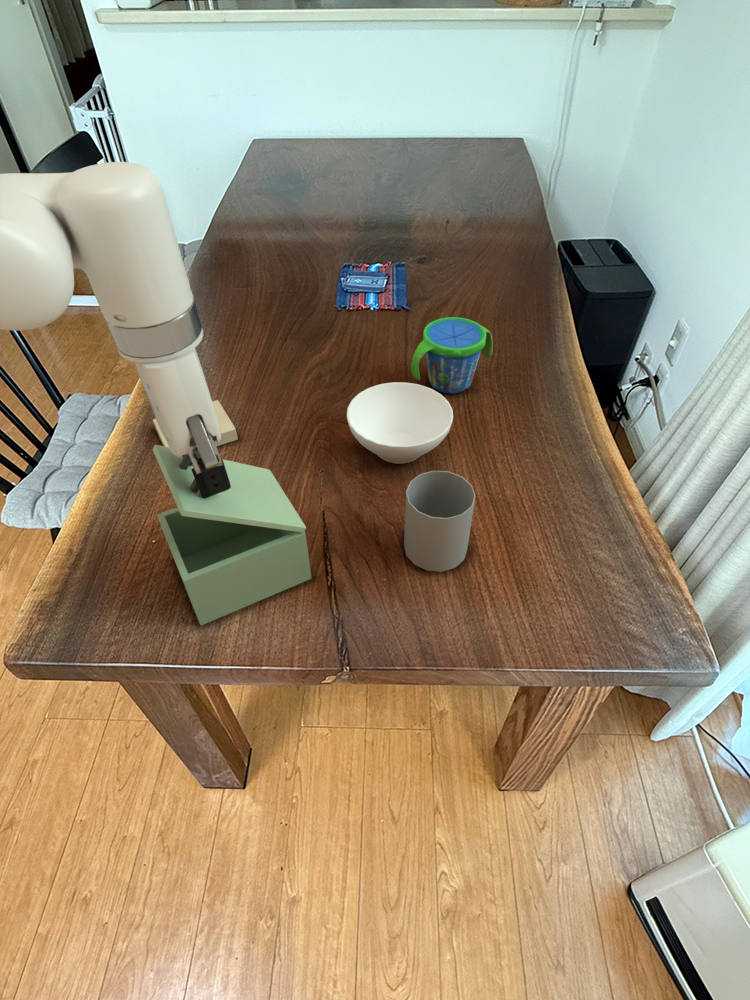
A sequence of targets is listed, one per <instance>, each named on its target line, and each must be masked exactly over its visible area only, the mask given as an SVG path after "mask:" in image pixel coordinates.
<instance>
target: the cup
mask: <svg viewBox="0 0 750 1000" xmlns="http://www.w3.org/2000/svg"><path fill="white" fill-rule="evenodd" d="M476 497H477V495H476V493H475V489H474V487H473V484H471V483H470V482H469V481H468V480H467V479H466V478H465V477H464V476H462V475H459V474H457V473H454V472H451V471H447V470H431V471H427V472H422V473H420V474H418V475H417V476H416V477H414V478H413V479H412V480H410V481H409V484H408V486H407V488H406V490H405V508H404V509H405V511H404V514H405V515H404V535H403V546H404V547H403V548H404V552H405V555H406V557H407V558H408V559H409V561H410V562H412V564H413V565H414V566H416V567H418V568H421V569H423V570H425V571H427V572H441V573H442V572H443V573H444V572H446V571H449V570H453V569H455V568H457V567H458V566H459V565H460V564H461V563H462V562H463V561H464V560H465V559H466V555H467V552H468V547H469V541H470V533H471V527H472V521H473V515H474V509H475V503H476Z"/></svg>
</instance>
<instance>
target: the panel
mask: <svg viewBox="0 0 750 1000" xmlns="http://www.w3.org/2000/svg"><path fill="white" fill-rule="evenodd" d="M212 402H213V406H214V409H215V413H216V416H217V420H218V423H219V427H220V431H221V440H220V441H219V443H217V442H215V444H216V446H217V447H219V446H222V445H225V444H229V443H231V442H234V441H238V440H239V438H238V433H237V428H236V427H235V425H234V423H233V422H232V420H231V419H230V417H229V416H228V414H227V412H226V410H225V409H224V407H223V406H222V404H221V402H220V401H219V400H218V399H216V400H212ZM152 422H153V425H154V428H155V431H156V433H157V435H158V438H159V441H160V442H161V444H162V446H164V447H169V446H168V444H167V442H166V440H165V437H164V435H163V433H162V431H161V429H160V427H159V425H158V422H157V420H156V418H153V419H152Z"/></svg>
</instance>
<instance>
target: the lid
mask: <svg viewBox="0 0 750 1000" xmlns="http://www.w3.org/2000/svg"><path fill="white" fill-rule="evenodd" d="M191 441H194V439H193V438H190V442H191ZM152 452H153V455H154V456H155V460H156V461H157V464H158V466H159V468H160V470H161V473H162V475H163V477H164V480H165V482H166V484H167V485H168V488H169V491H170V493H171V495H172V498H173V500H174V502H175V505H176V506H177V507H178V509H179V512H180V514H181V516H186V517H194V518H201V519H208V520H216V521H223V522H230V523H237V524H245V525H252V526H259V527H266V528H274V529H281V530H288V531H295V532H306V529H307V527H306V525H305V523H304V522H303V520H302V518H301V517H300V515H299V513H298V512H297V510H296V509H295V507H294V505H293V504H292V503H291V501H290V499H289V498H288V496H287V495H286V493H285V491H284V490H283V488H282V486H281V485H280V483H279V482H278V480H277V479H276V477H275V475H274V474H273V473H272V471H271V469H268V468H266V467H265V468H264V467H260V466H255V465H250V464H246V463H242V462H237V461H233V460H228V459H223V458H222V460H223V462H224V465H225V469H226V472H227V475H228V478H229V481H230V485H231V488H230V489H228V490H226V491H223V492H221V493H218V494H216V495H213V496H211V497H208V498H202V496H201V494H200V492H199V489H198V486H197V484H196V481H195V478H194V475H193V473H192V470H191V469H192V468H194V467H193V465H191V466H189V465H190V463H191V460H190V457H189V455H188V454H186V455H184V457H183V456H181V457H177V456H175V455H174V454H173V453H172V452H171V450H170V448H169V447H164V446H163V445H159V444H154V446H153V448H152ZM194 453H195V454H196V456H197V458H198V459H199V458H201V456H200V454H199V451H198V450H195V451H194Z"/></svg>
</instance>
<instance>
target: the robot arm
mask: <svg viewBox="0 0 750 1000" xmlns="http://www.w3.org/2000/svg"><path fill="white" fill-rule="evenodd" d="M177 238H178V237H177V235H176V231H175V227H174V225H173V221H172V217H171V215H170V211H169V207H168V204H167V200H166V196H165V193H164V191H163V188H162V185H161V182H160V181H159V179H158V177H157V176H156V174H154V172H153V171H152V170H151V169H149V168H147V167H146V166H145V165H142V164H139V163H136V162H129V161H110V162H101V163H96V164H92V165H88V166H85V167H82V168H79V169H76V170H74V171H72V172H50V173H47V172H45V173H43V172H42V173H41V172H40V173H39V172H38V173H37V172H35V173H33V172H32V173H31V172H30V173H28V172H13V173H12V172H10V173H0V331H13V332H15V331H16V332H17V331H30V330H35V329H39V328H42V327H45V326H47V325H49V324H51V323H53V322H55V321H56V320H57V319H58V318H60V317H61V316H62V315H63V313H64V312H65V311H66V310H67V309H68V307H69V305H70V303H71V301H72V298H73V296H74V290H75V272H74V269H78V270H81V271H83V272H84V274H85V275H86V278H87V279H88V282H89V284H90V287H91V290H92V292H93V295H94V296H95V300H96V301H97V304H98V307H99V309H100V311H101V314H102V316H103V318H104V321H105V324H106V326H107V328H108V331H109V333H110V335H111V338H112V341H113V343H114V345H115V347H116V350H117V352H118V354H119V356H120V357H122V358H123V359H124V360H126V361H128V362H131V363H134V366H135V368H136V371H137V374H138V377H139V379H140V382H141V384H142V387H143V389H144V392H145V395H146V397H147V400H148V402H149V405H150V408H151V411H152V413H153V415H154V419H156V420H157V422H158V425H159V427H160V429H161V431H162V433H163V435H164V437H165V440H166V442H167V444H168V446H169V448H170V450H171V452H172V453H173V454H174V455H175V456H177V457H181V456H183V457H184V455H186V454H188V455H189V457H190V460H191V463H190V465H189V466H191V465H193V467H194V468H192V469H191V470H192V473H193V475H194V478H195V481H196V484H197V486H198V489H199V492H200V494H201V496H202V498H208V497H211V496H213V495H216V494H218V493H221V492H223V491H226V490H228V489H230V488H231V485H230V481H229V478H228V475H227V472H226V469H225V465H224V462H223V460H222V459H223V457H221V455H220V452H219V449H218V446H216V444H215V442H217V443H219V441H220V440H221V431H220V427H219V423H218V420H217V416H216V413H215V409H214V406H213V402H212V401H213V399H212V396H211V392H210V389H209V386H208V383H207V380H206V377H205V374H204V370H203V367H202V365H201V361H200V358H199V354H198V351H197V349H196V348H197V347H198V346H199V345H200V344H201V342H202V340H203V338H204V329H203V325H202V322H201V319H200V316H199V312H198V309H197V305H196V302H195V299H194V294H193V291H192V288H191V284H190V281H189V277H188V273H187V270H186V267H185V263H184V260H183V256H182V253H181V249H180V245H179V242H178V239H177ZM190 438H193V439H194V441H191V442H190ZM195 450H198V451H199V454H200V456H201V458H199V459H198V458H197V456H196V454H195V453H194V451H195Z"/></svg>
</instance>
